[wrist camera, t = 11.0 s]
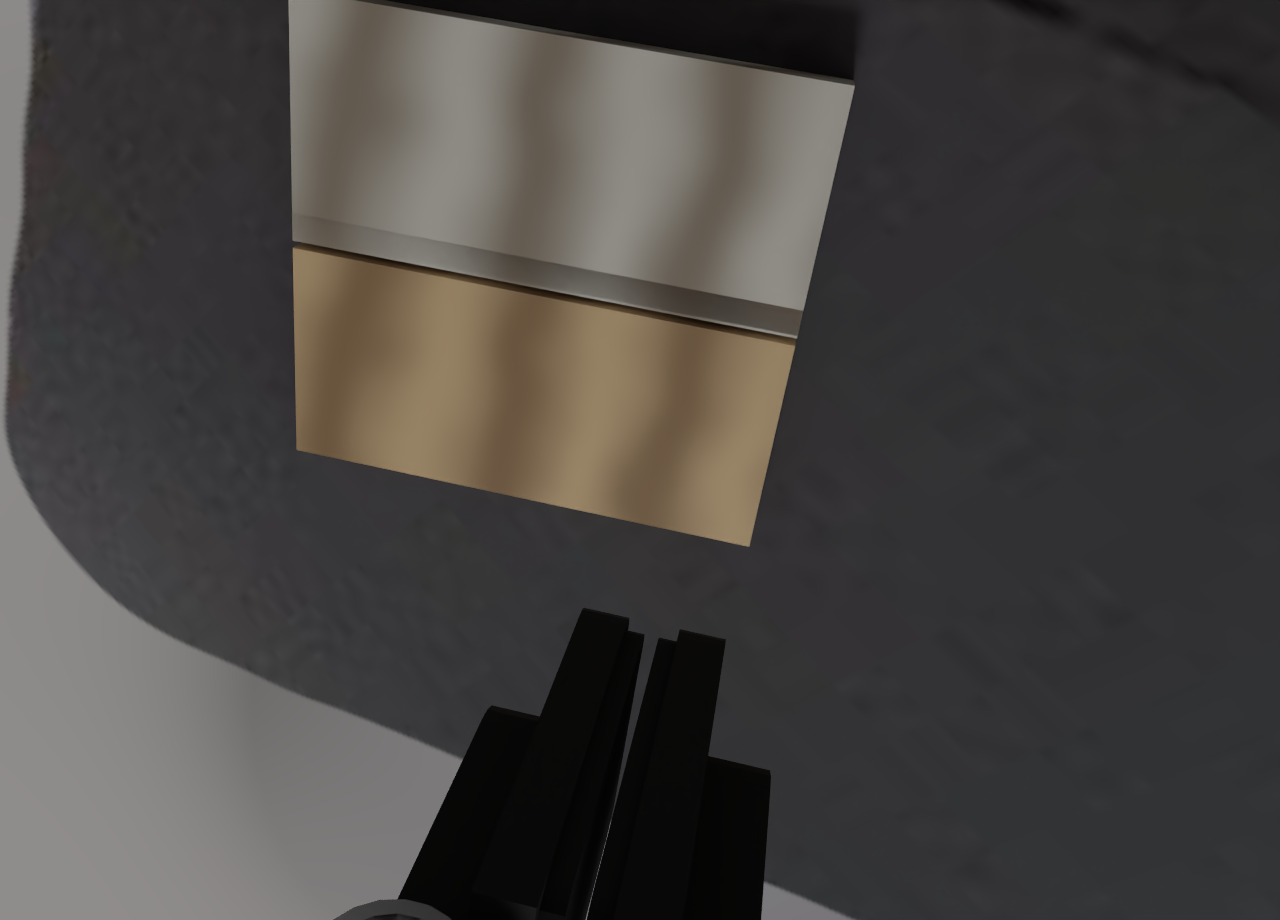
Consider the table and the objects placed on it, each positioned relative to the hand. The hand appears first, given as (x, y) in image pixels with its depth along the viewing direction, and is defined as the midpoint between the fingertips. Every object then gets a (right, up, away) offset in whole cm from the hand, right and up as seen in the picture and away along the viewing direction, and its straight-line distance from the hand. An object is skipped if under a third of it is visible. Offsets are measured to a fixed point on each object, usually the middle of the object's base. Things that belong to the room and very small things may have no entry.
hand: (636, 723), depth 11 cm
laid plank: (-3, +15, +26) cm, 30 cm away
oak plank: (-4, +6, +30) cm, 31 cm away
